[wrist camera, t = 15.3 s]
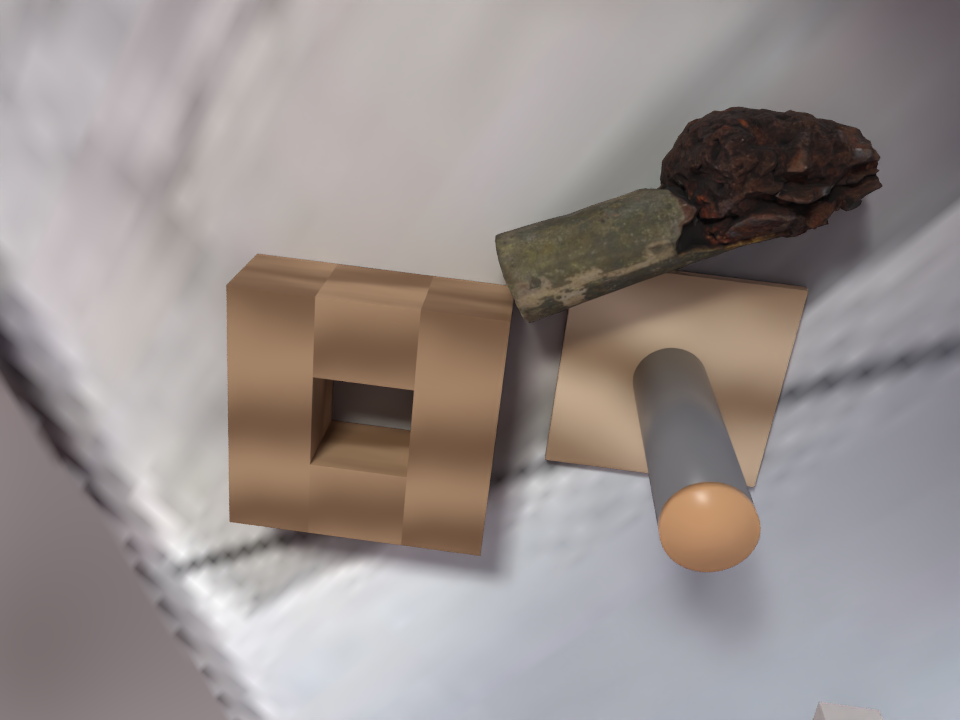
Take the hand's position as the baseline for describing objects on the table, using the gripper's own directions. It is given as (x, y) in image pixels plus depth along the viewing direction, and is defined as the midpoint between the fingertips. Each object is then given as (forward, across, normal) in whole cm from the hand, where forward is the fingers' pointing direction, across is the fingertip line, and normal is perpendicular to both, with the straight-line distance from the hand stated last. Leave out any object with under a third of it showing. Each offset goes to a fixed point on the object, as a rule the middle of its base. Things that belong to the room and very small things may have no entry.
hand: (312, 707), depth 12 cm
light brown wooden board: (+37, +11, -11) cm, 40 cm away
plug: (+36, +11, -11) cm, 39 cm away
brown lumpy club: (+37, +9, -1) cm, 38 cm away
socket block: (+37, -5, -14) cm, 40 cm away
